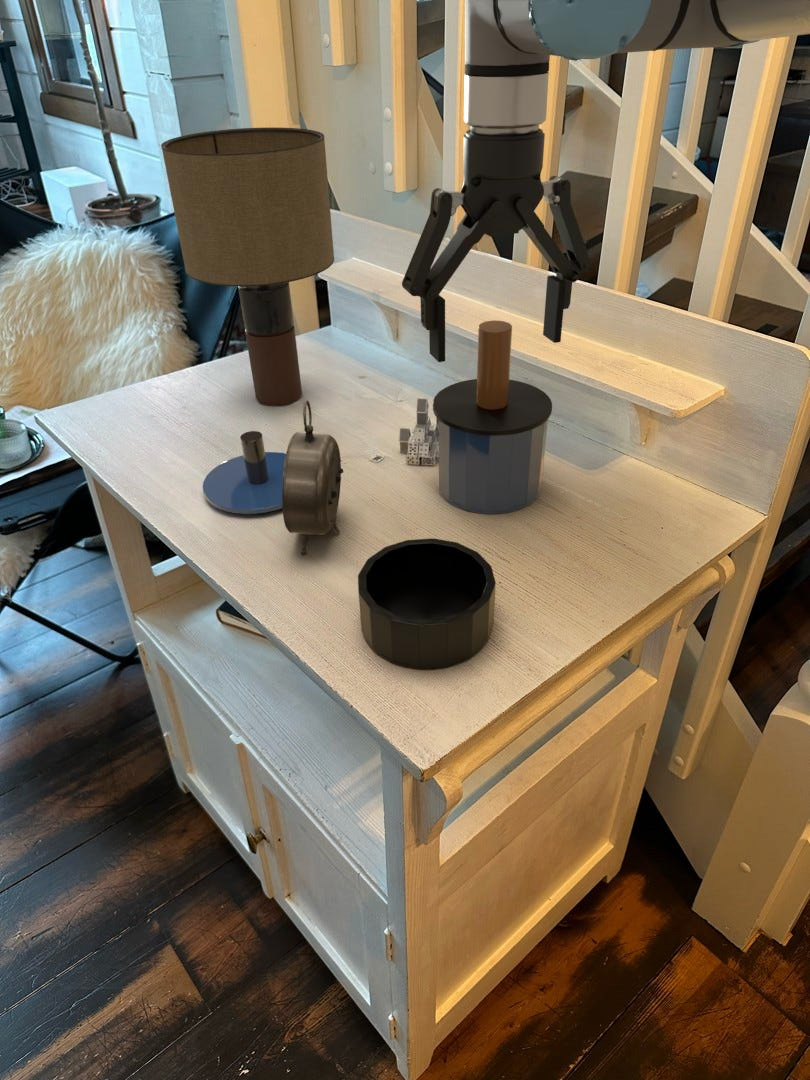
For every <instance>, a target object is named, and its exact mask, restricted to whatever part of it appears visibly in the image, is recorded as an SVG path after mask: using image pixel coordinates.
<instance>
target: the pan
mask: <svg viewBox="0 0 810 1080" xmlns="http://www.w3.org/2000/svg"><path fill="white" fill-rule="evenodd" d="M357 585H358V586H357V589H358V590H357V591H358V603H359V615H360V625H361V633H362V635H363V639H364V640H365V642H366V644H367V645H368V646H369V648H370V649H371V650H372V651H373V652H374V653H375V654H376V655H378V656H379V657H380V658H382V659H383V660H386V662H389V663H391V664H393V665H396V666H399V667H403V668H406V669H412V670H421V671H423V670H424V671H426V670H429V671H430V670H431V671H432V670H440V669H446V668H451V667H454V666H457V665H460V664H462V663H464V662H466V661H468V660H470V659H472V658H473V657H475V656H476V655H477V654H478V653H480V652H481V650H482V649H483V648H484V647H486V644H487V643H488V642H489V639H490V637H491V636H492V635H491V634H492V630H493V626H494V620H495V601H496V586H497V585H496V579H495V574H494V571H493V568H492V565H491V564H490V563H489V562H488V561H487V560H486V559H485V558H484V557H483V556H482V555H481V554H480V552H478V551H476V550H475V549H472V548H469V547H467V546H466V545H464V544H462V543H459V542H457V541H450V540H445V539H439V538H419V539H407V540H403V541H400V542H396V543H393V544H391V545H387V546H385V547H383V548H381V549H380V550H379V551H377V552H376V553H374V554H373V555H371V556H370V557H369V558H367V559H366V561H365V562H364V564H363V566H362V568H361V569H360V571H359V573H358V574H357Z"/></svg>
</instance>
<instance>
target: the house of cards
mask: <svg viewBox="0 0 810 1080" xmlns="http://www.w3.org/2000/svg"><path fill="white" fill-rule="evenodd" d="M428 399H429V398H420V397H419V398H417V400H416V411H415V413H416V422H415V423H414V427H413V428H412V431H411V430H410V428H409V427H408V428H407V427H399V431H398V432H399V433H398V442H399V453H400V454H406V455H405V465H415V466H420V465H421V466H434V467H435V466H436V458H437V423H432V422H431V416H430V415H429V407H430V405H429V400H428ZM385 457H386V456H385V455H381V454H378V453H376V454H375V455H374V456H373V457H371V458H370V459H369V461H372V462H374V463H380V461H381V460H383V459H384V458H385Z"/></svg>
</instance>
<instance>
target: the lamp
mask: <svg viewBox="0 0 810 1080" xmlns="http://www.w3.org/2000/svg"><path fill="white" fill-rule="evenodd" d="M160 147H161V153H162V157H163V162H164V166H165V171H166V172H165V173H166V177H167V183H168V189H169V192H170V198H171V204H172V207H173V213H174V218H175V223H176V228H177V232H178V239H179V243H180V249H181V254H182V260H183V263H184V270H185V274H186V275H187V276H188V277H189V278H190V279H193V280H195V281H197V282H200V283H204V284H208V285H213V286H219V287H220V286H221V287H222V286H223V287H237V289H238V295H239V301H240V307H241V308H240V309H241V312H242V321H243V325H244V329H245V330H244V333H245V339H246V345H247V352H248V358H249V365H250V372H251V377H252V383H253V389H254V395H255V399H256V401H257V402H258V403H259V404H261V405H265V406H270V407H281V406H286V405H291V404H292V403H295V402H297V401H299V400H300V399H301V397H302V396H303V395H302V394H303V389H302V381H301V371H300V363H299V355H298V347H297V338H296V337H297V336H296V329H295V322H294V321H295V320H294V312H293V304H292V295H291V288H290V287H291V286H290V283H291V282H295V281H299V280H303V279H307V278H310V277H313V276H315V275H318V274H320V273H323V272H324V271H326V270H327V269H329V268H330V267H331V266H332V265H333V264H334V262H335V252H334V241H333V239H334V238H333V227H332V216H331V215H332V214H331V203H330V190H329V180H328V179H329V178H328V177H329V176H328V166H327V155H326V141H325V135H324V133H322V132H320V131H317V130H313V129H306V128H298V127H244V128H229V129H217V130H210V131H203V132H197V133H190V134H185V135H180V136H177V137H174V138H170V139H167V140H165V141H163V142H162V143H161V145H160Z"/></svg>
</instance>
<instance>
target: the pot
mask: <svg viewBox="0 0 810 1080" xmlns="http://www.w3.org/2000/svg"><path fill="white" fill-rule="evenodd" d="M435 418H436V424H437V454H436V483H437V490H438V493H439V495H440V496H441V497H442V498H443V499H444V500H445V501H446V502H447V503H448V504H450V505H452V506H453V507H455V508H458V509H461V510H463V511H467V512H470V513H475V514H484V515H500V514H507V513H512V512H515V511H519V510H522V509H524V508H526V507H528V506H529V505H531V504H532V503H534V502H535V501H536V500H537V498H538V497H539V495H540V493H541V490H542V489H541V488H542V485H543V476H544V475H543V474H544V465H545V455H546V445H547V444H546V442H547V431H548V420H549V419H548V420H547V421H546V422H544V423H543V424H542V425H540V426H538V427H536V428H534V429H532V430H529V431H526V432H522V433H517V434H511V435H499V436H490V435H477V434H471V433H466V432H462V431H459V430H456V429H453V428H451V427H449V426H447V425H445V424H444V423H442V422H441V421H440V420H439V419H438V418H437V417H436V416H435Z"/></svg>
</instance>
